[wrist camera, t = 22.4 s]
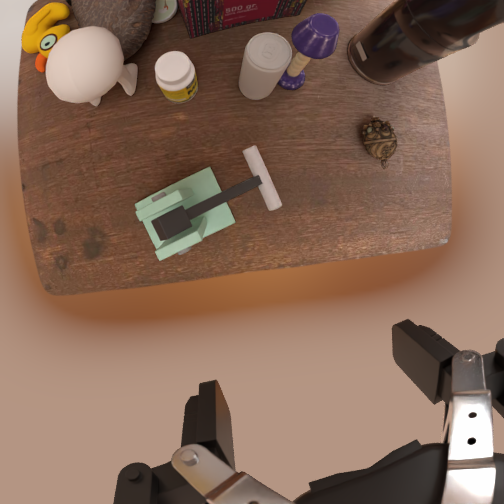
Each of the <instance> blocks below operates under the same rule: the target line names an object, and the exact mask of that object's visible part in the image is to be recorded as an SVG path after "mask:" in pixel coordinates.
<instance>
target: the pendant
mask: <svg viewBox="0 0 504 504" xmlns="http://www.w3.org/2000/svg"><path fill="white" fill-rule="evenodd" d="M371 119H372V121H371V123H370V124H369V125H364V127H363V128H364V129H363V130H362V134H363V136H364V138H363V144H364V145H365V146H366V150H367V151H368V152H369V154H370V155H372V156H373V157H375V158H377V159H379V160H381V166H382V168H384V169H387V168H388V162H387V160H386V159H389V158H390V157H391V156H392V155H393V154H394V152H395V151H396V147H397V138H396V135H395V134H394V132H393V131H394V127H393V126H392V125H390V123H389V121H386V122H383V121H381V120H380V119H379V117H377V116H373V117H372V118H371ZM383 162H385V163H386V167H385V166H384V165H383Z"/></svg>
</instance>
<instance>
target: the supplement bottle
mask: <svg viewBox="0 0 504 504" xmlns="http://www.w3.org/2000/svg"><path fill="white" fill-rule="evenodd" d="M155 72H156V81H157V84H158V85H159V87H160V88H161V90H162V92H163V94H164V95H165V97H166V98H167V99H168V100H169V101H171V102H173V103H185V102H187V101H189V100H191V99H192V98H193V97H194V96H195V94H196V92H197V89H198V83H197V78H196V73H195V68H194V65H193V63H192V62H191V61H190V60H189V58H188V56H187V55H186V54H184V53H182V52H179V51H171V52H168V53H165V54H163V55H162V56H161V57H160V58H159V59H158V60H157V62H156V65H155Z"/></svg>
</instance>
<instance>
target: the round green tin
mask: <svg viewBox="0 0 504 504" xmlns="http://www.w3.org/2000/svg"><path fill="white" fill-rule="evenodd" d="M155 3H156V5H155V6H156V10H155V12H154V14H153V15H154V18H153V19H152V23H157V24H158V23H164V22H166V21H168V20H170V19H171V18H172V17H173V16H174V15H175V14H176V12H177V9H178V2H177V0H156V2H155Z"/></svg>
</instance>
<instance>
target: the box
mask: <svg viewBox="0 0 504 504" xmlns="http://www.w3.org/2000/svg"><path fill="white" fill-rule="evenodd" d="M306 1H307V0H177V2H178V6H179V9H180V11H181V14H182V17H183V20H184V22H185V25H186V28H187V31H188V33H189V36H190V39H191V38H194V37H198V36H201V35H204V34H208V33H211V32H215V31H219V30H223V29H227V28H231V27H235V26H239V25H244V24H249V23H253V22H259V21H264V20H269V19H275V18H282V17H288V16H296V15H299V14H300V12H301V10H302V8H303V7H304V5H305V3H306Z"/></svg>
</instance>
